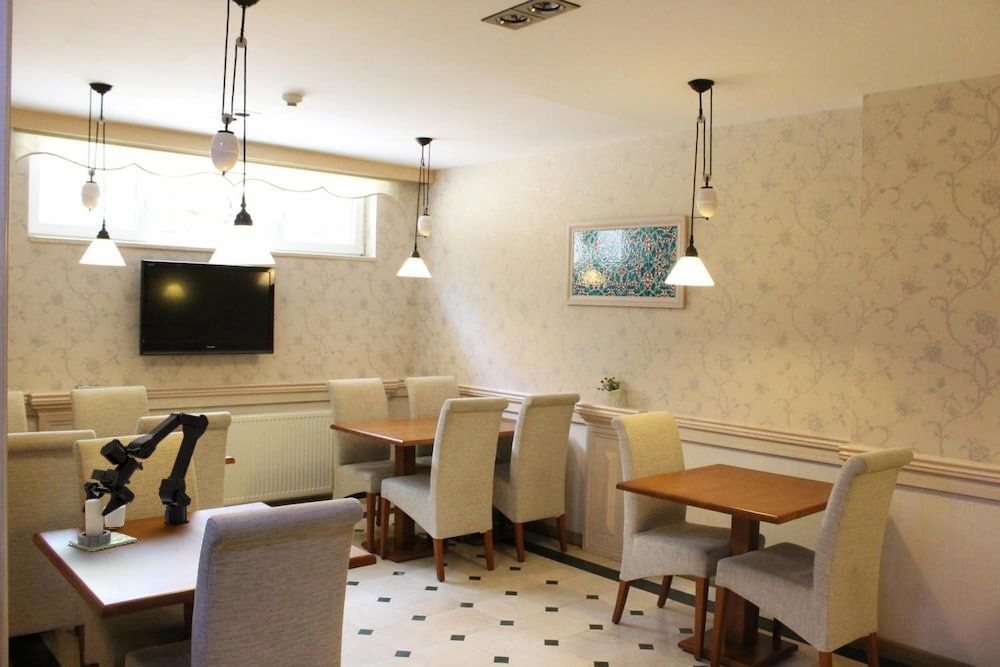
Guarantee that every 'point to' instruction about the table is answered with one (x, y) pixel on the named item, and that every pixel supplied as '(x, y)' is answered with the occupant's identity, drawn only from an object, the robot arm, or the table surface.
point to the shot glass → (115, 517)
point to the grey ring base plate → (101, 540)
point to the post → (94, 517)
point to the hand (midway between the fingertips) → (92, 514)
